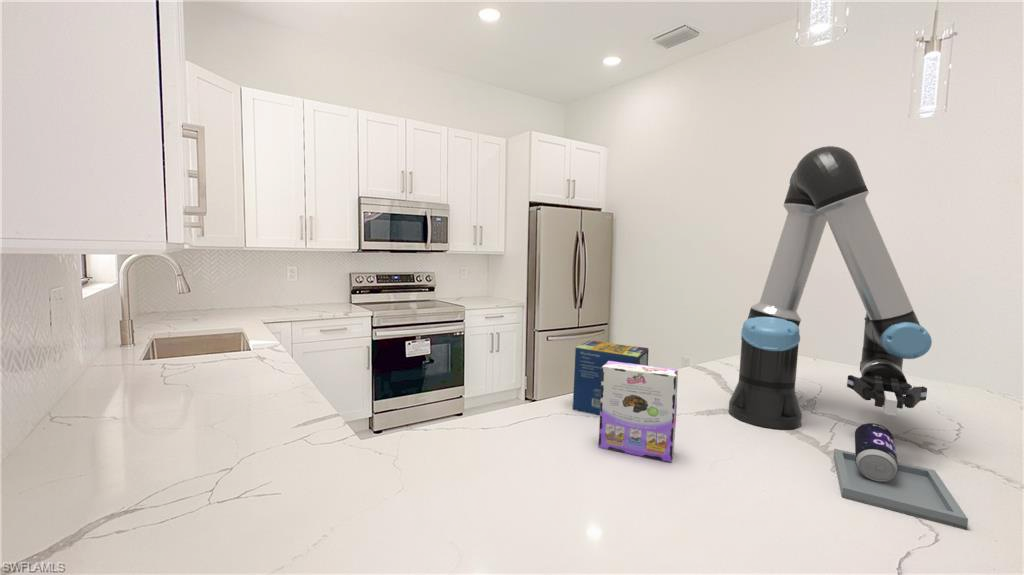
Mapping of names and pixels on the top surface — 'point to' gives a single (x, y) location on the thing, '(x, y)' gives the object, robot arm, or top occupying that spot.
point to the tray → (900, 491)
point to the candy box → (638, 409)
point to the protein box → (599, 370)
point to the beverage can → (875, 452)
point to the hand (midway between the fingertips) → (891, 407)
